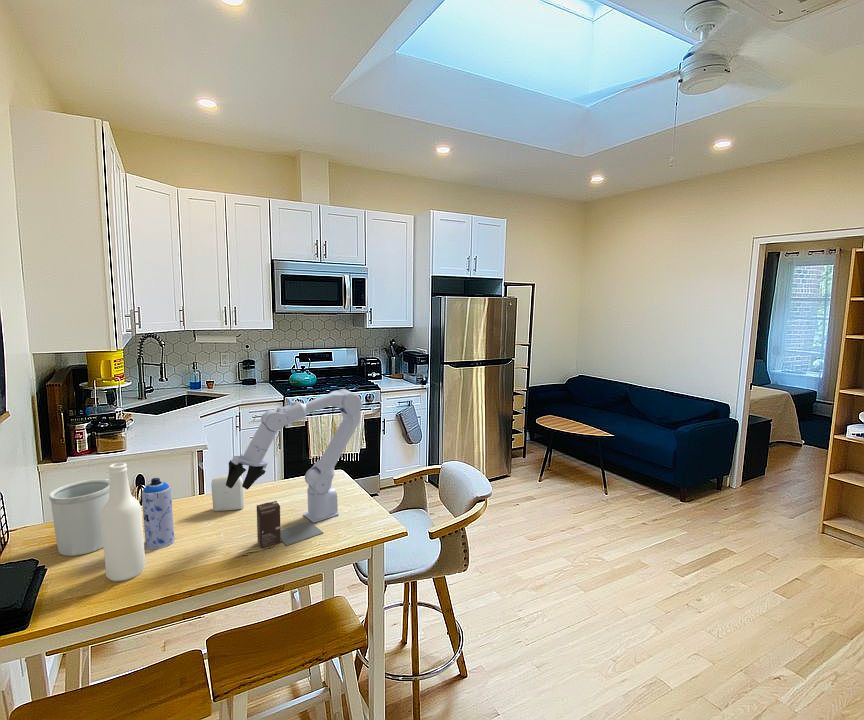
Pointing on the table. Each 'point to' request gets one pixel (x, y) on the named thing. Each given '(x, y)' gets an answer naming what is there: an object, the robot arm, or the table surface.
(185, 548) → the table surface
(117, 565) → the alcohol
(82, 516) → the utensil holder
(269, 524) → the box
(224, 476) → the photo printer
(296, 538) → the mat
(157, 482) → the aerosol can
